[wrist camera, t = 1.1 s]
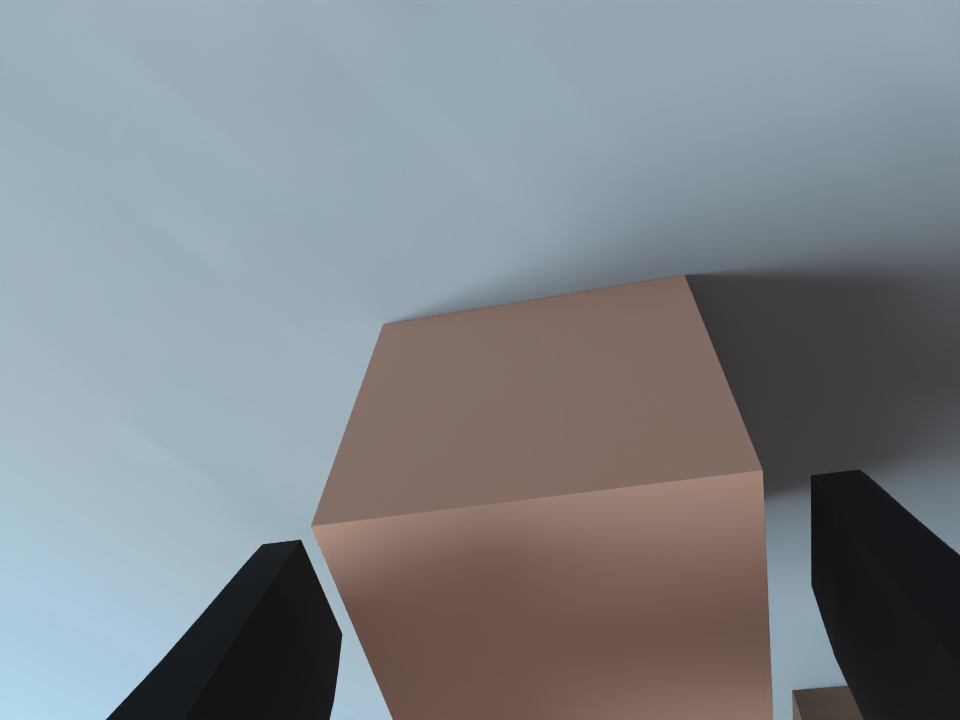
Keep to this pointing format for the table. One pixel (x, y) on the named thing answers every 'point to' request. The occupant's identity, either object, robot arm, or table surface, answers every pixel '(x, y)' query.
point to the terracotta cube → (554, 516)
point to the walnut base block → (825, 704)
